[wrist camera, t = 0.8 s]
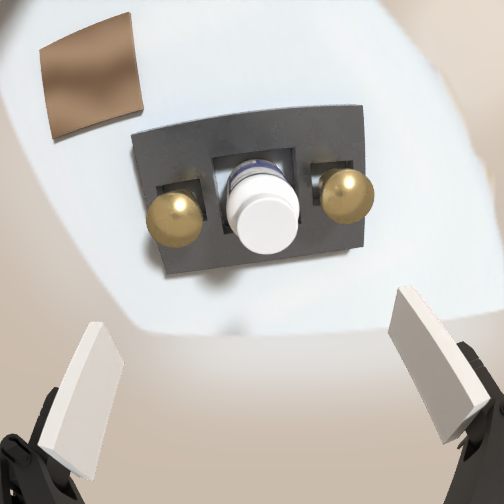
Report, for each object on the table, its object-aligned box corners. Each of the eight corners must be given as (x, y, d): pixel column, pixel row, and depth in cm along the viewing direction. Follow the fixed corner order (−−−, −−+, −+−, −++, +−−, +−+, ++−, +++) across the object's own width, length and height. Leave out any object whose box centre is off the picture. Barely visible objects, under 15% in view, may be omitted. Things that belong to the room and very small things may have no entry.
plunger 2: (309, 162, 25) (321, 173, 21) (356, 158, 25) (374, 169, 21) (311, 210, 27) (323, 227, 23) (357, 204, 27) (373, 220, 23)
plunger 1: (151, 185, 25) (139, 200, 21) (200, 176, 25) (195, 189, 21) (163, 231, 27) (154, 251, 24) (210, 223, 27) (207, 243, 23)
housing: (137, 132, 24) (130, 135, 23) (354, 104, 24) (362, 105, 23) (170, 264, 31) (167, 274, 29) (356, 238, 31) (363, 246, 29)
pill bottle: (277, 216, 29) (296, 269, 21) (222, 207, 29) (219, 258, 20) (290, 163, 27) (318, 196, 18) (233, 152, 26) (233, 180, 18)
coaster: (42, 50, 19) (39, 50, 18) (130, 13, 19) (128, 11, 18) (55, 138, 24) (52, 138, 23) (143, 109, 23) (142, 109, 23)
